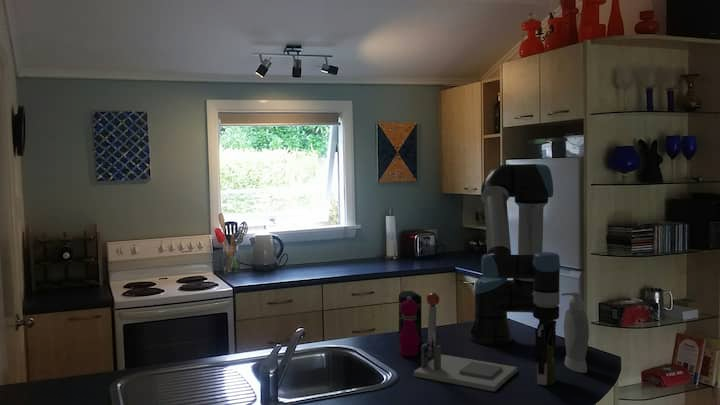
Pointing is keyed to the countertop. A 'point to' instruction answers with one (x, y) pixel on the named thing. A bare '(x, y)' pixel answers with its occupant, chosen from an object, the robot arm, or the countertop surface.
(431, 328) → the press lever
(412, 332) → the pepper mill
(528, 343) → the countertop surface
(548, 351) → the cork
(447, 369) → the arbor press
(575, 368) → the soap bottle
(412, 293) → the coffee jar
